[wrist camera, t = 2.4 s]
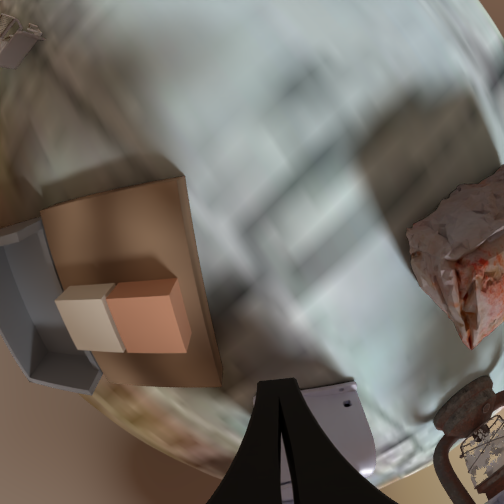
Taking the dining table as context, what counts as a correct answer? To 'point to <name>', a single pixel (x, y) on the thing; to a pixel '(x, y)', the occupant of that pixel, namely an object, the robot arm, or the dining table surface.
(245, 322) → the dining table surface
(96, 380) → the box
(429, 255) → the food item
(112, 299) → the tile terracotta
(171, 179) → the walnut plate
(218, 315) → the dining table surface
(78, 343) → the tile cream
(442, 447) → the lantern
